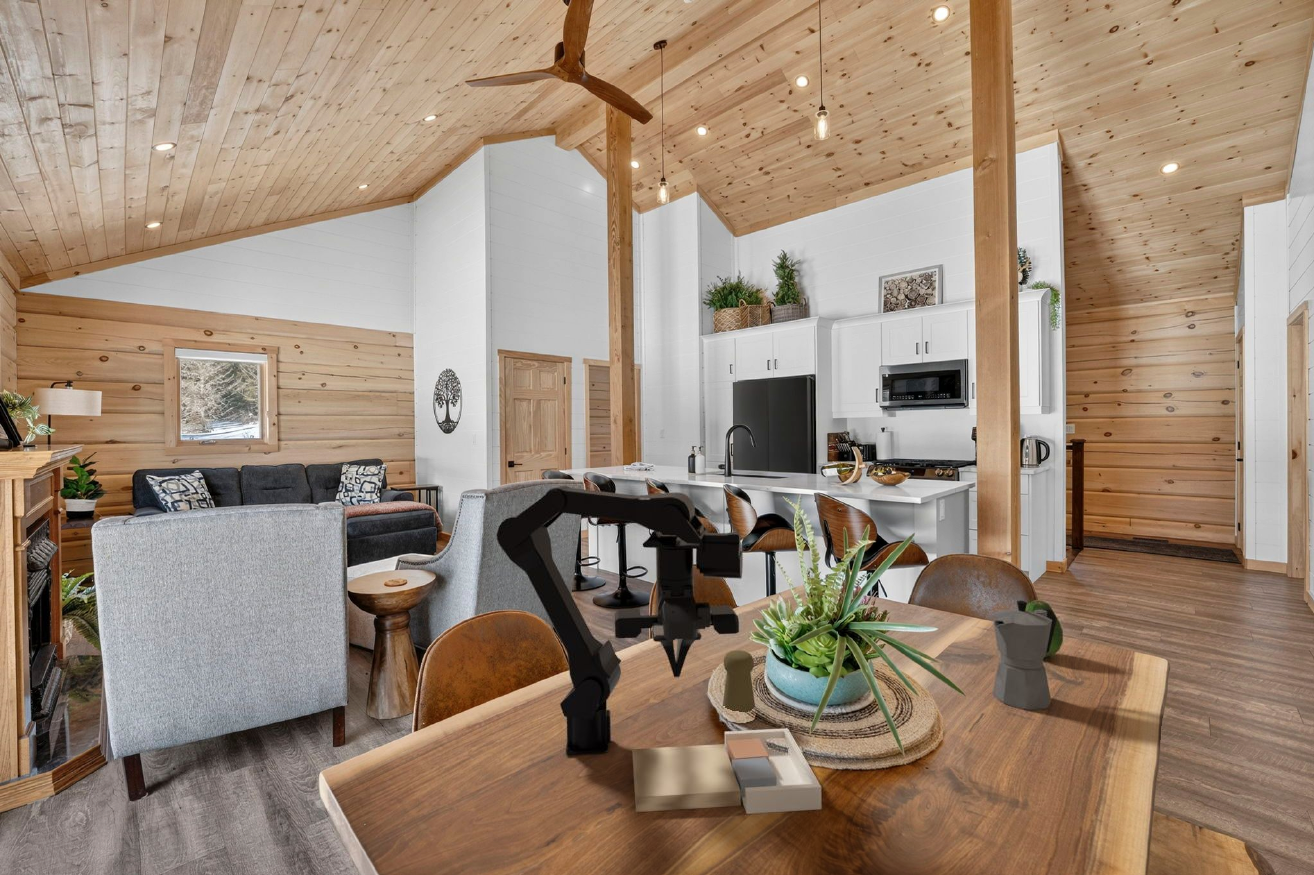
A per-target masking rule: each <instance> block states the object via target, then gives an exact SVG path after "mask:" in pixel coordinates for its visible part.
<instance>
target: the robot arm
mask: <svg viewBox="0 0 1314 875" xmlns="http://www.w3.org/2000/svg"><path fill="white" fill-rule="evenodd" d="M563 514H569V515H570V514H571V515H577V516H584V517H585V516H586V517H593V518H601V519H609V520H615V521H616V520H617V521H625V522H630V523H634V524H637V525H639V526H641V527H643V528H646V529H648V530H651V531H652V532H651V534H650V536H649V537H648V538H647V539H646V540H644V542H643V543H642V547H643V548H647V549H648V548H650V549H653V548H654V549H655V560H656V561H655V564H656V568H655V572H656V614H651V615H650V614H648V615H646V614H645V615H641V610H640V608H621V609H620V608H619V609H617V610H616V611H615V612H614V635H615V636H614V637H615V638H616V639H637V638H638V637H639V636H640V634H641V633H642V629H650V630H651V636H652V640H653V641H654V642H656V643H660V644H661V646H662V648H663V650H664V652H665V654H666V656H667V659H668V662H669V666H670V668H671V672H672V675H673V677H674V678H679V677H681V673H682V670H683V667H684V665H685V662H686V657H687V655H688V653H689V650H690V648H691V646H692V645H693V643H694V642H696V641H699V640H702V635H701V630H706V628H707V629H708V628H710V627H711V626H713V630H714V631H715V632H716V633H717V634H718V635H734V634H738V633H740V620H739V616H738V615H737V613H736V611H735V609H734V608H733V607H732V606H731V605H727V604H726V605H725V604H722V605H710V602H708V601H707V602H696V600H695V588H694V587H695V580H694V579H695V578H694V577H695V576H694V550H695V552H696V553H695V566H696V567H695V568H696V570H697V571H699V574H703V575H702V576H703V577H704V578H714V579H739V580H740V579H742V578H743V564H744V561H743V560H744V559H743V558H744V557H743V555H744V554H743V553H744V552H743V551H744V550H742V543H741V542H742V541H741V533H740V532H738V531H732V532H730V531H729V532H725V533H724V532H723V533H722V532H721V533H720V532H717V533H716V532H708V529H707V528H706V526H705V525H704V524H703V522H702V521H701V520H700V519H699V517H698V516H697V514H696V510H695V505H694V503H693V500H692V499H691V498H690V497H689V496H688V495H687V494H685V493H682V492H678V491H677V492H663V493H661V492H660V493H652V494H643V495H639V494H638V495H635V494H626V493H616V492H608V491H601V490H591V489H585V488H584V489H583V488H575V487H570V486H568V485H560V486H559V485H558V486H556V487H552V488H550V489H549V490H548V491H547V492H546V493H545V494H544V495H543V496H542V497H540V498H539V499H538V500H537V501H535V502H534V503H533V504H531V505H529V506H528V507H527V508H526V509H525V510H523V511H522V512H521V513H518V514H516V515H513V516H510V517H508V518H506V519H504V520H502V521H501V523H500V524H499V526H498V529H497V532H496V534H495V535H496V540H497V543H498V545H499V546H500V548H501V549H502V550H503V552H504V554H505V555H506V557H507V558H508V559H509V561H511V562H512V564H514V565H516V566H517V567H518V568H519V569H520V570H522V571H523V572H524V573H525V574H526V576H527V578H528V580H529V581H530V584H531V585H532V588H533V589H534V591H535V593H536V595H537V597H538V599H539V601H540V603H541V605H542V607H543V608H544V611H545V613H546V614H547V616H548V618H549V620H550V622H551V624H552V626H553V628H554V630H555V631H556V634H557V636H558V637H559V640H560V642H561V643H562V644H561V645H562V646H563V648H564V649H565V652H566V655H567V661H568V670H569V672H568V673H569V678H570V680H571V684H572V688H571V689H570V691H568V693H567V694H566V696H565V697H564V698H563V699H562V700H561V701H560V703H559V705H560V708H561V709H560V710H561V711H562V714H563V717H564V718H565V717H566V746H565V747H566V748H565V754H566V755H569V756H570V755H584V754H605V753H608V751H609V744H610V743H611V742H612V737H611V736H612V732H611V731H612V730H611V729H612V728H611V727H612V726H611V723H612V722H611V710H610V709H607V702H608V699H609V698H610V696H611V694H612V693H613V691H614V690H615V688H616V686H617V684H618V683H619V681H620V678H621V676H622V670H621V666H620V664H621V662H622V660H621V658H619V657H618V655H617V654H616V653H615V650H614V647H613V645H612V641H611V640H607V641H605V642H604V643H602V642H600V641H599V640H598V639H596V638H595V637H594V636H593V634H592V632H591V631H590V630H591V629H590V628H589V627H588V624H587V622H586V621H585V619H584V617H583V615H582V613H581V611H580V609H579V607H578V605H577V604H576V601H575V599H574V597H573V595H572V594H571V592H570V590H569V588H568V585H567V584H566V581H564V578H563V576H562V574H561V572H560V571H559V569H558V567H557V564H556V562H555V561H554V558H553V552H552V551H553V550H552V542H551V536H550V535H549V534H550V533H549V531H548V528H549V527H550V526H551V525H553V524H554V523H555V522H556V521H557V520H558V519H559V518H560V517H561V516H562V515H563ZM676 640H677V643H676V653H675V647H674V641H676Z"/></svg>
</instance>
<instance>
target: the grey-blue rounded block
mask: <svg viewBox="0 0 1314 875" xmlns="http://www.w3.org/2000/svg"><path fill="white" fill-rule="evenodd" d="M732 768H733V771H734V773H735V776H736V779H737V782H738V785H739V788H740V790H741V797H745V788H751V787H768V786H777V777H776V775H775V773H774V771H773V769H772V767H771V766H770V764H769V762H768V760H767V758H766V757H762V758H749V759H736V760H732Z"/></svg>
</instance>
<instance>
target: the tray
mask: <svg viewBox="0 0 1314 875" xmlns="http://www.w3.org/2000/svg"><path fill="white" fill-rule="evenodd" d="M755 738H759V739H760V741H761V742H762V744H763V746H764V748H765V750H766V751H767V753H768V755H769V764H770V766H771V767H772V769H773V771H774V773H775V775H776V777H777V786H768V787H751V788H745V797H741V802H742V804H743V807H744V810H745V813H746V814H747V815H749V814H751V815H752V814H765V813H766V814H767V813H785V812H786V813H787V812H799V811H814V810H822V785H821V783H820V782H819V781H818V779H817V777H816V775H815V773H814V772H813V770H812V768H811V766H810V764H809V763H808V761H807V759H806V757H805V756H804V754H803V753H802V751H801V749H800V748H799V746H798V744H797V742H796V740H795V739H794V737H793V735H792V733H791V731H790V730H789V728H787V727H786V728H770V729H753V730H752V729H749V730H748V729H747V730H731V731H724V745H725V748H726V751H727V741H730V740H742V739H755ZM770 738H785V740H786V742H787V743H788V745H789V749H788V755H786V754H783V753H780V752H777V751H774V750H772V749H768V748H769V747H768V745H767V743H766V742H765V741H766V740H767V739H770Z"/></svg>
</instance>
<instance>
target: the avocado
mask: <svg viewBox="0 0 1314 875" xmlns="http://www.w3.org/2000/svg"><path fill="white" fill-rule="evenodd" d="M1047 608H1048V609H1051V610H1052V611H1053V613H1054V614H1055V616H1056V618H1057V622H1056V626H1055V629H1054V633H1053V638H1052V642H1051V646H1050V650H1049V652H1048V653H1046V656H1045V657H1044V658H1046V657H1051V656H1053V655H1056V653H1058V652H1059V650H1060V649H1061V647H1062V645H1063V642H1064V632H1063V628H1062V625H1061V623H1060V620H1059V618H1058V617H1057V615H1056V613H1055V611H1054V610H1053V609H1052V607H1051V606H1050V604H1049V603H1047V602H1046V601H1044V600H1039V599H1034V600H1032V601H1031V602H1029V603H1027V606H1026V610H1025V611H1030V612H1034V610H1043V609H1047Z"/></svg>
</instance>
